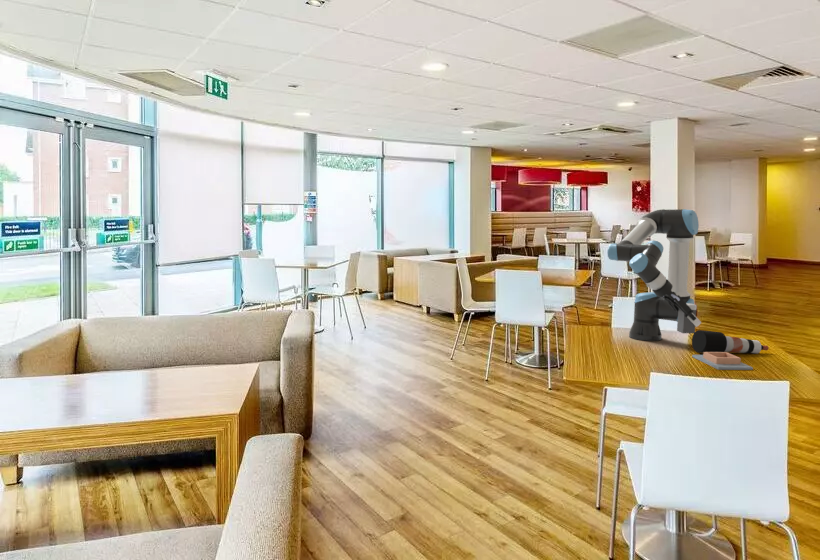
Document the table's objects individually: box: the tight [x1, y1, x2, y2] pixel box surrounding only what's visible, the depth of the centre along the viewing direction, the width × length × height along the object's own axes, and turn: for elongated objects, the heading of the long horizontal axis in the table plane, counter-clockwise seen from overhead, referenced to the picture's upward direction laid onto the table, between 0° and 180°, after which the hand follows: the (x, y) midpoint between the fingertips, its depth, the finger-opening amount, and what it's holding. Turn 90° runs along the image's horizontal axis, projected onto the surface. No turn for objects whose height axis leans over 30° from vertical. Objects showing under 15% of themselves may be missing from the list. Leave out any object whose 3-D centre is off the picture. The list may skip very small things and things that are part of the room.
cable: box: [691, 329, 770, 354], centre depth 249 cm, size 10×34×10 cm
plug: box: [676, 303, 698, 334], centre depth 234 cm, size 5×5×12 cm
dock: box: [692, 352, 754, 371], centre depth 232 cm, size 20×14×4 cm
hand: (695, 323), depth 234 cm, fingers closed on plug, 5 cm apart
